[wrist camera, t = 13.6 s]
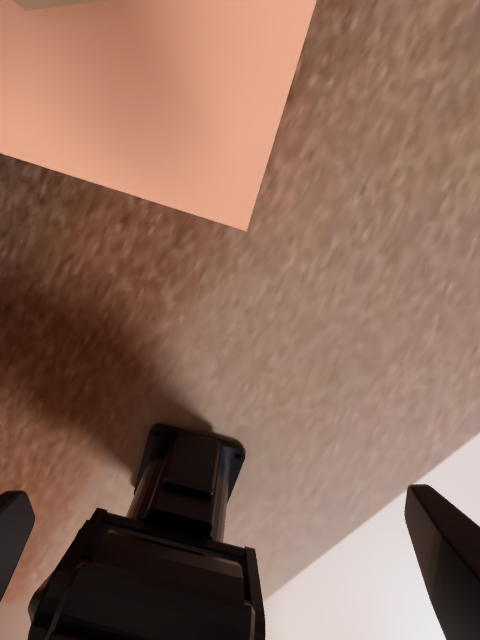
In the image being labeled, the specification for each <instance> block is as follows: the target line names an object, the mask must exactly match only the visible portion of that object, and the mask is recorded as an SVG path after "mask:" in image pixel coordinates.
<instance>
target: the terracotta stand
mask: <svg viewBox="0 0 480 640" xmlns="http://www.w3.org/2000/svg"><path fill="white" fill-rule="evenodd" d="M316 1H317V0H112V1H104V2H95V3H87V4H78V5H69V6H61V7H52V8H44V9H35V10H27V11H26V10H25V9H23V8H22V7H21V6H19V5H18V4H17V3H15V2H14V1H13V0H0V153H2V154H5V155H8V156H11V157H14V158H18V159H21V160H24V161H27V162H30V163H33V164H36V165H40V166H43V167H46V168H49V169H52V170H55V171H58V172H62V173H65V174H68V175H71V176H74V177H77V178H81V179H84V180H87V181H90V182H93V183H96V184H99V185H103V186H106V187H109V188H112V189H115V190H118V191H121V192H125V193H128V194H131V195H134V196H137V197H140V198H143V199H147V200H150V201H153V202H156V203H159V204H162V205H165V206H169V207H172V208H175V209H178V210H181V211H184V212H187V213H191V214H194V215H197V216H200V217H203V218H206V219H210V220H213V221H216V222H219V223H222V224H225V225H228V226H232V227H235V228H238V229H241V230H244V231H247V228H248V225H249V222H250V218H251V215H252V212H253V208H254V205H255V202H256V199H257V195H258V192H259V189H260V185H261V182H262V179H263V175H264V172H265V169H266V166H267V162H268V159H269V156H270V152H271V149H272V146H273V142H274V139H275V136H276V133H277V129H278V126H279V123H280V119H281V116H282V113H283V110H284V106H285V103H286V100H287V96H288V93H289V90H290V86H291V83H292V80H293V77H294V73H295V70H296V67H297V63H298V60H299V57H300V53H301V50H302V47H303V44H304V40H305V37H306V34H307V30H308V27H309V24H310V21H311V17H312V14H313V11H314V7H315V4H316Z"/></svg>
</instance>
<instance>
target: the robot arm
mask: <svg viewBox="0 0 480 640" xmlns="http://www.w3.org/2000/svg"><path fill="white" fill-rule="evenodd" d="M155 430H158V431H160V433H158V432H156V431H155ZM245 452H246V451H245V449H244V448H243V447H241V446H239V445H235V444H231V443H228V442H224V441H221V440H217V439H214V438H210V437H206V436H203V435H199V434H196V433H192V432H189V431H185V430H181V429H178V428H174V427H171V426H167V425H164V424H160V423H156V424H154V425H152V427H151V429H150V431H149V435H148V439H147V443H146V447H145V451H144V455H143V458H142V462H141V466H140V470H139V474H138V478H137V482H136V486H135V490H134V498H133V501H132V503H131V506H130V508H129V511H128V513H127V516H126V517H123V516H120V515H116V514H112V513H108V512H107V510H105V509H101V508H97V509H96V511H95V512H94V514H93V515H92V517H91V518H90V520H86V522H85V523H84V525H83V527H82V528H81V529H79V531H78V533H77V535H76V537H75V539H74V540H73V542H72V544H71V545H70V547H69V548H68V550H67V551H66V553H65V554H64V556H63V558H62V559H61V561H60V562H59V564H58V565H57V567H56V568H55V570H54V571H53V572H52V573H51V574H50V576H49V577H48V578H47V579H46V580H45V581H44V582H43V584H42V585H41V586H40V587H39V588H38V589H37V590H36V592H35V593H34V595H33V597H32V598H31V601H30V603H29V606H28V612H29V616H30V620H31V627H30V630H29V634H28V640H265V617H264V616H265V615H264V607H263V600H262V593H261V587H260V580H259V573H258V566H257V559H256V553H255V549H253V548H250V547H246V546H245V547H244V548H242V547H238V546H234V545H230V544H226V543H223V537H224V527H225V517H226V507H227V503H228V500H229V498H230V495H231V493H232V490H233V487H234V485H235V482H236V480H237V477H238V475H239V472H240V470H241V467H242V464H243V462H244V459H245ZM235 453H240V455H237V454H235ZM405 520H406V524H407V528H408V531H409V534H410V537H411V540H412V544H413V547H414V550H415V553H416V557H417V560H418V563H419V566H420V569H421V573H422V576H423V579H424V582H425V586H426V589H427V592H428V595H429V598H430V601H431V603H432V606H433V608H434V611H435V614H436V616H437V618H438V621H439V623H440V625H441V628H442V630H443V633H444V635H445V638H446V640H480V527H479V526H478V525H477V524H476V523H475V522H473V521H472V520H471V519H470V518H469V517H467V516H466V515H465V514H464V513H462V512H461V511H460V510H459V509H457V508H456V507H455V506H454V505H453V504H451V503H450V502H449V501H448V500H447V499H445V498H444V497H443V496H442V495H440V494H439V493H438V492H437V491H436V490H434V489H433V488H432V487H431V486H429V485H425V484H419V485H418V484H416V485H409V487H408V489H407V497H406V504H405ZM34 521H35V515H34V512H33V509H32V506H31V503H30V501H29V498H28V495H27V493H26V492H25V491H22V490H20V491H6V492H4V493H3V494H1V495H0V601H1V599H2V597H3V595H4V593H5V591H6V589H7V586H8V584H9V582H10V580H11V577H12V575H13V573H14V570H15V568H16V566H17V563H18V561H19V559H20V556H21V554H22V552H23V549H24V547H25V545H26V542H27V540H28V538H29V535H30V533H31V531H32V528H33V526H34Z"/></svg>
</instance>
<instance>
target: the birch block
mask: <svg viewBox="0 0 480 640" xmlns="http://www.w3.org/2000/svg"><path fill="white" fill-rule="evenodd" d="M13 1H14V2H15V3H17V4H18V5H19V6H21V7H22V8H23V9H25V10H26V11H27V10H35V9H44V8H52V7H61V6H69V5H78V4H87V3H95V2H104V1H112V0H13Z"/></svg>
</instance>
